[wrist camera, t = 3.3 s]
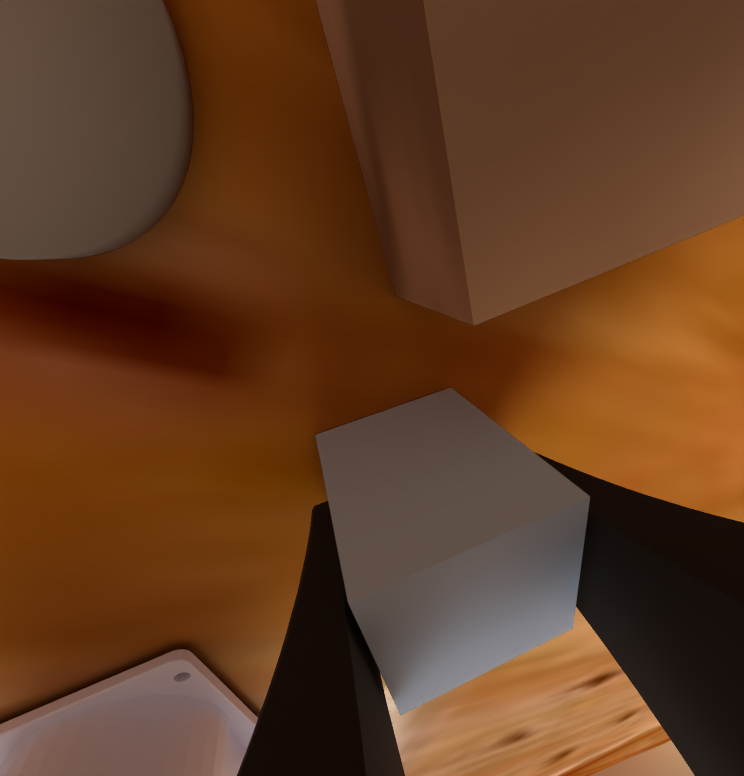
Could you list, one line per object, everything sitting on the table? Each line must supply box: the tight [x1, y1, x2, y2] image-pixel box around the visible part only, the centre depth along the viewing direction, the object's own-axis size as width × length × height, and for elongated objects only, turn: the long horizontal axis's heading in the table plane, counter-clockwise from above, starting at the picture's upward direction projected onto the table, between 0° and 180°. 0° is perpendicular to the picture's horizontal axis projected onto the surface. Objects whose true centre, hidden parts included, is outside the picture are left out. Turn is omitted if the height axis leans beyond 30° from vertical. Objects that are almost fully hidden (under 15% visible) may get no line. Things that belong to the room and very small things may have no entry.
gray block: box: [315, 387, 590, 715], centre depth 8 cm, size 4×4×5 cm
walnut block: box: [316, 0, 744, 326], centre depth 6 cm, size 6×6×4 cm
